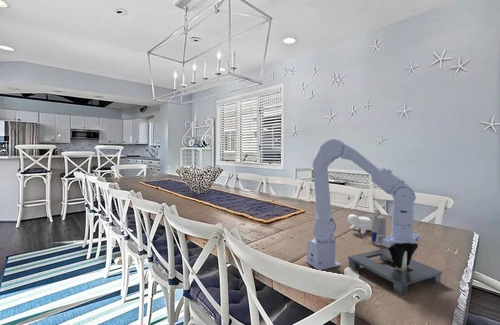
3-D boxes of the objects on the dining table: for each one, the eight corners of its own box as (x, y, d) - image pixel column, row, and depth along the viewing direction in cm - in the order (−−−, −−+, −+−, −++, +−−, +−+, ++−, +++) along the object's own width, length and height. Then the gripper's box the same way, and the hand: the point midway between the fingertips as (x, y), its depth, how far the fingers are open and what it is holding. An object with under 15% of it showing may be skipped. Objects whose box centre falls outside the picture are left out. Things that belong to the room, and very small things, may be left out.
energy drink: (373, 240, 115) (373, 214, 114) (386, 243, 112) (387, 216, 111) (369, 244, 111) (370, 216, 110) (383, 247, 107) (384, 218, 107)
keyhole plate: (401, 296, 72) (402, 284, 71) (347, 266, 90) (348, 256, 90) (441, 282, 79) (442, 271, 79) (384, 257, 97) (384, 248, 97)
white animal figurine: (361, 233, 135) (340, 225, 130) (366, 217, 136) (345, 209, 130) (375, 238, 127) (353, 230, 122) (380, 221, 128) (358, 213, 122)
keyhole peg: (402, 281, 78) (403, 255, 78) (388, 273, 83) (388, 249, 82) (413, 277, 80) (414, 252, 80) (398, 270, 85) (399, 247, 84)
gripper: (398, 229, 74) (397, 276, 75) (430, 223, 80) (428, 266, 81) (377, 223, 80) (376, 265, 81) (408, 218, 86) (407, 258, 87)
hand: (401, 265), depth 81 cm, fingers closed on keyhole peg, 3 cm apart
